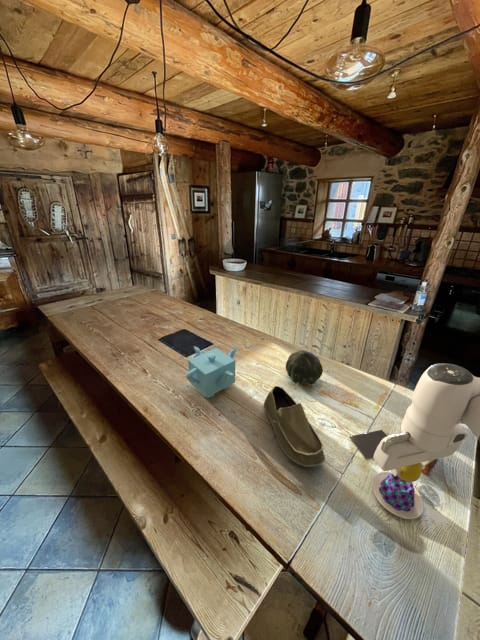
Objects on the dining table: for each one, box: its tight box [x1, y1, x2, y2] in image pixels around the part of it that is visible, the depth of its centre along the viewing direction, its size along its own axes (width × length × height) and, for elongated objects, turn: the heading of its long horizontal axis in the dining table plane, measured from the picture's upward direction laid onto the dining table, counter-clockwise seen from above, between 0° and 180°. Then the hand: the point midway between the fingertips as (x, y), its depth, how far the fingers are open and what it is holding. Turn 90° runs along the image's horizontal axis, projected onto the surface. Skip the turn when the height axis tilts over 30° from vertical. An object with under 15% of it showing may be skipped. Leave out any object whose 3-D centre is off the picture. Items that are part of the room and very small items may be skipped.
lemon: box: [398, 463, 423, 483], centre depth 65 cm, size 6×6×8 cm
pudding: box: [371, 471, 424, 520], centre depth 69 cm, size 12×12×5 cm
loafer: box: [263, 385, 326, 468], centre depth 85 cm, size 11×30×10 cm, turn 23°
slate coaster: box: [349, 429, 388, 460], centre depth 84 cm, size 12×8×1 cm, turn 103°
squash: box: [285, 349, 324, 386], centre depth 110 cm, size 14×15×15 cm
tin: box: [421, 458, 440, 477], centre depth 77 cm, size 15×3×8 cm, turn 135°
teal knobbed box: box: [185, 345, 239, 398], centre depth 105 cm, size 19×19×15 cm
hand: (407, 470), depth 65 cm, fingers closed on lemon, 5 cm apart
